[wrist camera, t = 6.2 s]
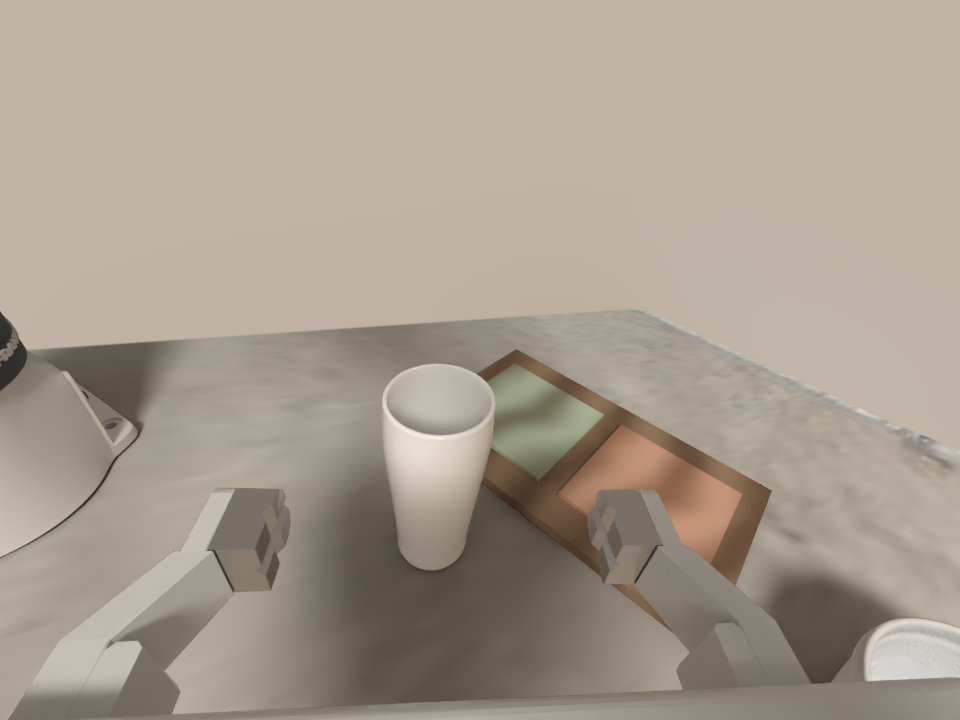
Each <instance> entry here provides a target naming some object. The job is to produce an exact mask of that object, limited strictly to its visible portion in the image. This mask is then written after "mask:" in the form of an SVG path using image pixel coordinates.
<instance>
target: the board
mask: <svg viewBox="0 0 960 720" xmlns="http://www.w3.org/2000/svg"><path fill="white" fill-rule="evenodd" d="M477 375H479V376H480V377H482V378H483V379H484V380H485V381H486V382H487V383H488V384H489V386H490V387H491V389H492V390H493V392H494V395H495V399H496V408H495V420H494V429H493V437H492V443H491V449H490V453H489V458H488V462H487V466H486V469H485V473H484V476H483V479H482V483H483V484H485V485H486V486H487V487H488V488H490V489H491V490H492V491H493V492H495V493H496V494H497V495H499V496H500V497H501V498H502V499H504V500H505V501H506V502H507V503H509V504H510V505H511V506H513V507H514V508H515V509H516V510H518V511H519V512H520V513H521V514H523V515H524V516H525V517H527V518H528V519H529V520H530V521H532V522H533V523H534V524H535V525H537V526H538V527H539V528H541V529H542V530H543V531H544V532H546V533H547V534H548V535H549V536H551V537H552V538H553V539H555V540H556V541H557V542H558V543H560V544H561V545H562V546H563V547H565V548H566V549H567V550H569V551H570V552H571V553H572V554H574V555H575V556H576V557H577V558H579V559H580V560H581V561H583V562H584V563H585V564H586V565H588V566H589V567H590V568H592V569H593V570H594V571H595V572H597V573H598V574H599V575H600V576H601V574H600V571H599V568H598V564H597V561H596V558H597V556H598V553H599V550H598V549H597V548H596V547H595V546H594V545H593V544H592V543H591V540H590V537H589V532H588V514H589V511H590V508H592V507H593V506H595V505H596V501H595V496H596V494H597V492H598V491H599V490H622V489H634V490H655V491H656V492H657V493H658V494H659V497H660V499H661V501H662V503H663V505H664V507H665V509H666V511H667V513H668V515H669V517H670V519H671V521H672V523H673V525H674V528H675V530H676V532H677V534H678V536H679V538H680V540H681V542H682V544H683V546H689V547H690V548H692V549H693V550H694V551H695V552H696V553H697V554H699V555H700V556H701V557H702V558H703V559H704V560H706V561H707V562H708V563H709V564H710V565H711V566H713V567H714V568H715V569H716V570H717V571H718V572H720V573H721V574H722V575H723V576H724V577H725V578H727V579H728V580H729V581H730V582H731V583H732V584H734V585H736V582H737V580H738V577H739V575H740V572H741V569H742V567H743V564H744V562H745V559H746V556H747V554H748V551H749V549H750V546H751V543H752V541H753V538H754V536H755V533H756V530H757V528H758V525H759V523H760V520H761V518H762V515H763V512H764V510H765V507H766V505H767V502H768V499H769V497H770V494H771V492H772V490H770V489H768V488H766V487H764V486H763V485H761V484H759V483H757V482H755V481H754V480H752V479H750V478H748V477H746V476H744V475H743V474H741V473H739V472H737V471H735V470H734V469H732V468H730V467H728V466H726V465H725V464H723V463H721V462H719V461H717V460H716V459H714V458H712V457H710V456H708V455H706V454H705V453H703V452H701V451H699V450H697V449H696V448H694V447H692V446H690V445H688V444H687V443H685V442H683V441H681V440H679V439H678V438H676V437H674V436H672V435H670V434H669V433H667V432H665V431H663V430H661V429H659V428H658V427H656V426H654V425H652V424H650V423H649V422H647V421H645V420H643V419H641V418H640V417H638V416H636V415H634V414H632V413H631V412H629V411H627V410H625V409H623V408H621V407H620V406H618V405H616V404H614V403H612V402H611V401H609V400H607V399H605V398H603V397H602V396H600V395H598V394H596V393H594V392H593V391H591V390H589V389H587V388H585V387H583V386H582V385H580V384H578V383H576V382H574V381H573V380H571V379H569V378H567V377H565V376H564V375H562V374H560V373H558V372H556V371H555V370H553V369H551V368H549V367H547V366H546V365H544V364H542V363H540V362H538V361H536V360H535V359H533V358H531V357H529V356H527V355H526V354H524V353H522V352H520V351H518V350H517V349H516V350H515V351H513V352H512V353H510V354H508V355H507V356H505V357H504V358H502V359H500V360H499V361H497V362H495V363H494V364H492V365H491V366H489V367H487V368H486V369H484V370H483V371H481V372H479V373H478V374H477ZM612 585H613V586H614V587H616V588H617V589H618V590H620V591H621V592H622V593H623V594H625V595H626V596H627V597H628V598H630V599H631V600H632V601H634V602H635V603H636V604H637V605H639V606H640V607H641V608H642V609H644V610H645V611H646V612H648V613H649V614H650V615H651V616H653V617H654V618H655V619H656V620H658V621H659V622H660V623H662V624H663V625H664V626H665V627H667V628H668V629H669V630H670V631H672V630H671V629H670V628H669V627H668V625H667V624H666V623H665V622H664V621H663V619H662V618H661V617H660V616H659V615H658V614H657V612H656V611H655V610H654V609H653V608H652V606H651V605H650V604H649V603H648V602H647V601H646V599H645V598H644V597H643V596H642V595H641V593H640V592H639V591H638V590H637V589H636V587H635V584H612ZM672 632H673V631H672Z"/></svg>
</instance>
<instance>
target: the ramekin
mask: <svg viewBox="0 0 960 720" xmlns="http://www.w3.org/2000/svg"><path fill="white" fill-rule="evenodd" d="M944 677H956V678H960V628H959V627H956V626H954V625H950V624H947V623H944V622H940V621H936V620H931V619H925V618H916V617H905V618H896V619H891V620H888V621H886V622H884V623H881V624H880V625H878V626H876V627H874V628H873V629H871V630H869V631H868V632H867V633H865V634H864V635H863V636H862V637H861V639H860V640H859V641H858V643H857V644H856V646H855V648H854V651H853V655H852V656H851V657H850V659H849V660H848V661H847V662H846V663H845V664H844V665H843V667H842V668H841V669H840V670H839V672H838V673H837V674H836V676H835V677H834V679H833V680H832V681H831V683H839V682H859V681H880V680H901V679H922V678H944Z"/></svg>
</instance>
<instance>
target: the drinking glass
mask: <svg viewBox="0 0 960 720" xmlns="http://www.w3.org/2000/svg"><path fill="white" fill-rule="evenodd" d="M495 408H496V399H495V395H494V392H493V390H492V389H491V387H490V386H489V384H488V383H487V382H486V381H485V380H484V379H483V378H482V377H480V376H479V375H477V374H476V373H474V372H472V371H470V370H468V369H465V368H463V367H459V366H455V365H450V364H425V365H419V366H415V367H412V368H409V369H407V370H405V371H403V372H401V373H399V374H398V375H397V376H395V377H394V378H393V379H392V380H391V381H390V382H389V383H388V385H387V386H386V388H385V390H384V392H383V395H382V443H383V453H384V460H385V466H386V471H387V477H388V482H389V487H390V492H391V498H392V503H393V509H394V515H395V520H396V526H397V540H398V546H399V549H400V552H401V554H402V555H403V557H404V558H405V559H406V560H407V561H408V562H409V563H410V564H411V565H413V566H415V567H417V568H419V569H422V570H429V571H432V570H440V569H443V568H445V567H448V566H449V565H451V564H452V563H454V562H455V561H456V560H457V559H458V558H459V557H460V555H461V554H462V552H463V550H464V548H465V545H466V541H467V535H468V529H469V525H470V521H471V518H472V514H473V511H474V507H475V504H476V500H477V497H478V493H479V490H480V486H481V483H482V479H483V476H484V473H485V469H486V466H487V462H488V458H489V453H490V449H491V443H492V437H493V429H494V420H495Z"/></svg>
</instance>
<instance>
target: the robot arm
mask: <svg viewBox="0 0 960 720" xmlns="http://www.w3.org/2000/svg"><path fill="white" fill-rule="evenodd" d="M137 435H138V431H137V429H136V428H135V426H134V425H133V424H132V423H131V422H130V421H129V420H127V419H126V418H125V417H123V416H122V415H120V414H119V413H118V412H116V411H115V410H114V409H112V408H111V407H109V406H108V405H107V404H105V403H104V402H103V401H101V400H100V399H98V398H97V397H96V396H94V395H93V394H92V393H90V392H89V391H88V390H86V389H85V388H83V387H82V386H81V385H79V384H78V383H77V382H75V381H74V380H73V378H72V377H71V375H70V374H69V373H68V372H67V371H60V370H58V369H57V368H56V367H55V366H54V365H52V364H50V363H49V362H47V361H45V360H43V359H42V358H40V357H38V356H36V355H34V354H32V353H31V352H29V351H27V350H26V348H25V347H24V345H23V344H22V342H21V341H20V339H19V336H18V333H17V331H16V330H15V328H14V327H13V325H12V324H11V323H10V321H8V319H6V318H5V317H4V316H3V315H2V313H1V312H0V557H1V556H3V555H6V554H8V553H10V552H12V551H14V550H16V549H18V548H20V547H22V546H24V545H25V544H27V543H29V542H31V541H32V540H34V539H36V538H37V537H39V536H41V535H42V534H44V533H46V532H47V531H49V530H50V529H52V528H53V527H54V526H56V525H57V524H59V523H60V522H61V521H63V520H64V519H65V518H67V517H68V516H69V515H70V514H71V513H73V512H74V511H75V510H76V509H77V508H78V507H79V506H81V505H82V504H83V503H84V502H85V501H86V500H87V499H88V498H89V496H90V495H91V494H92V493H93V492H94V491H95V489H96V488H97V487H98V485H99V484H100V483H101V481H102V479H103V478H104V476H105V474H106V472H107V470H108V468H109V466H110V465H111V463H112V461H113V460H114V459H115V457H116V456H117V455H119V454H120V453H121V452H122V451H123V450H124V449H125V448H126V447H128V446H129V445H130V444H131V443H132V442H133V440H134V439H135V438H136V437H137ZM284 500H285V494H284V491H283V489H257V488H216V489H215V490H214V491H213V492H212V493H211V494H210V496H209V498H208V500H207V502H206V503H205V505H204V507H203V509H202V511H201V513H200V515H199V517H198V519H197V521H196V522H195V524H194V526H193V528H192V530H191V532H190V534H189V536H188V538H187V540H186V541H185V543H184V545H183V547H182V549H181V551H173V552H172V553H171V554H170V555H168V556H167V557H166V558H164V559H163V560H162V561H161V562H159V563H158V564H157V565H156V566H154V567H153V568H152V569H150V570H149V571H148V572H147V573H145V574H144V575H143V576H142V577H140V578H139V579H138V580H136V581H135V582H134V583H133V584H131V585H130V586H129V587H128V588H126V589H125V590H124V591H122V592H121V593H120V594H119V595H117V596H116V597H115V598H114V599H112V600H111V601H110V602H108V603H107V604H106V605H105V606H103V607H102V608H101V609H99V610H98V611H97V612H96V613H94V614H93V615H92V616H91V617H89V618H88V619H87V620H85V621H84V622H83V623H82V624H80V625H79V626H78V627H77V628H75V629H74V630H73V631H71V632H70V633H69V634H68V635H66V636H65V637H64V638H63V639H61V640H60V641H59V642H58V644H57V645H56V647H55V648H54V650H53V652H52V653H51V655H50V656H49V658H48V659H47V661H46V662H45V664H44V665H43V667H42V668H41V670H40V672H39V673H38V675H37V676H36V678H35V679H34V681H33V682H32V684H31V685H30V687H29V688H28V690H27V692H26V693H25V695H24V696H23V698H22V699H21V701H20V702H19V704H18V705H17V707H16V708H15V710H14V712H13V713H12V715H11V716H10V718H9V719H8V720H960V678H956V677H944V678H922V679H901V680H880V681H859V682H839V683H818V684H811V682H810V680H809V678H808V677H807V675H806V673H805V671H804V670H803V668H802V666H801V664H800V663H799V661H798V659H797V657H796V656H795V654H794V652H793V650H792V649H791V647H790V645H789V643H788V642H787V640H786V638H785V636H784V635H783V633H782V631H781V629H780V628H779V626H778V624H777V622H776V621H775V620H774V619H773V618H772V617H771V616H770V615H769V614H767V613H766V612H765V611H764V610H763V609H762V608H760V607H759V606H758V605H757V604H756V603H755V602H753V601H752V600H751V599H750V598H749V597H748V596H746V595H745V594H744V593H743V592H742V591H741V590H739V589H738V588H737V587H736V586H735V585H734V584H732V583H731V582H730V581H729V580H728V579H727V578H725V577H724V576H723V575H722V574H721V573H720V572H718V571H717V570H716V569H715V568H714V567H713V566H711V565H710V564H709V563H708V562H707V561H706V560H704V559H703V558H702V557H701V556H700V555H699V554H697V553H696V552H695V551H694V550H693V549H692V548H690V547H689V546H683V544H682V542H681V540H680V538H679V536H678V534H677V532H676V530H675V528H674V525H673V523H672V521H671V519H670V517H669V515H668V513H667V511H666V509H665V507H664V505H663V503H662V501H661V499H660V497H659V494H658V493H657V492H656V491H655V490H634V489H622V490H599V491H598V492H597V494H596V496H595V501H596V505H595V506H593V507H592V508H590V511H589V514H588V532H589V537H590V540H591V543H592V544H593V545H594V546H595V547H596V548H597V549H598V550H599V553H598V556H597V558H596V561H597V564H598V568H599V571H600V574H601V578H602V581H603V584H635V587H636V589H637V590H638V591H639V592H640V593H641V595H642V596H643V597H644V598H645V599H646V601H647V602H648V603H649V604H650V605H651V606H652V608H653V609H654V610H655V611H656V612H657V614H658V615H659V616H660V617H661V618H662V619H663V621H664V622H665V623H666V624H667V625H668V627H669V628H670V629H671V630H672V631H673V633H674V634H675V635H676V636H677V637H678V638H679V640H680V641H681V642H682V643H683V644H684V646H685V647H686V648H687V649H688V650H689V652H690V653H689V654H688V655H687V657H686V658H685V659H684V660H683V661H682V662H681V663H680V664H679V666H678V668H677V670H676V672H677V674H678V677H679V680H680V683H681V685H682V688H683V690H671V691H650V692H629V693H608V694H587V695H566V696H545V697H524V698H504V699H483V700H462V701H441V702H420V703H399V704H378V705H357V706H336V707H315V708H295V709H274V710H253V711H232V712H211V713H190V714H172V712H173V709H174V707H175V704H176V702H177V699H178V697H179V694H180V690H179V688H178V686H177V684H176V683H175V682H174V681H173V680H172V679H171V678H170V677H169V675H168V674H167V673H166V672H165V670H166V668H167V667H168V666H169V665H170V664H171V663H172V662H173V661H174V660H175V659H176V657H177V656H178V655H179V654H180V653H181V652H182V651H183V650H184V649H185V648H186V647H187V645H188V644H189V643H190V642H191V641H192V640H193V639H194V638H195V637H196V636H197V634H198V633H199V632H200V631H201V630H202V629H203V628H204V627H205V626H206V625H207V623H208V622H209V621H210V620H211V619H212V618H213V617H214V616H215V615H216V614H217V612H218V611H219V610H220V609H221V608H222V607H223V606H224V605H225V604H226V603H227V602H228V600H229V599H230V598H231V597H232V596H233V595H234V593H233V592H251V591H271V589H272V586H273V583H274V580H275V577H276V574H277V571H278V568H279V564H280V563H279V560H278V556H277V553H278V552H280V551H281V550H282V549H283V548H284V547H285V546H286V542H287V539H288V536H289V529H290V512H289V508H287V507H286V506H285V505H283V503H284Z"/></svg>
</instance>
